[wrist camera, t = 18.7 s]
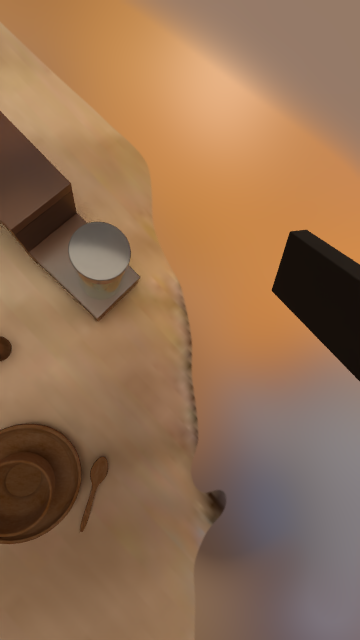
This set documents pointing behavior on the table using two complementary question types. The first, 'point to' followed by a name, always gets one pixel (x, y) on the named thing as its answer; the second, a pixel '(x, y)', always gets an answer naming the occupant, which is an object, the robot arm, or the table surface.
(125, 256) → the spice jar
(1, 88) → the table surface
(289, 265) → the robot arm
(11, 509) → the place setting
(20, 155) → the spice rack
